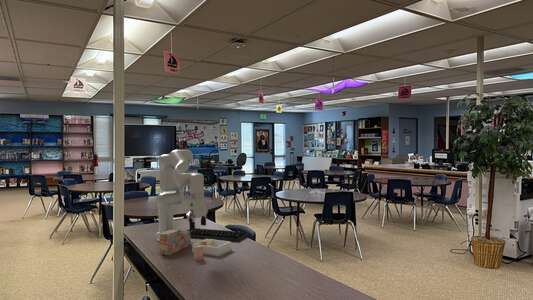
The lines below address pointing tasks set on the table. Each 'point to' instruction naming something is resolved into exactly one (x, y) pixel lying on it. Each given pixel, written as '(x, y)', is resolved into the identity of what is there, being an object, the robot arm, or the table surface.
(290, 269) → the table surface
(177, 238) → the stack of blocks
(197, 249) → the smooth tan pebble
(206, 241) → the cube
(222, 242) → the tote
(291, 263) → the table surface
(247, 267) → the table surface
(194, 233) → the computer keyboard
